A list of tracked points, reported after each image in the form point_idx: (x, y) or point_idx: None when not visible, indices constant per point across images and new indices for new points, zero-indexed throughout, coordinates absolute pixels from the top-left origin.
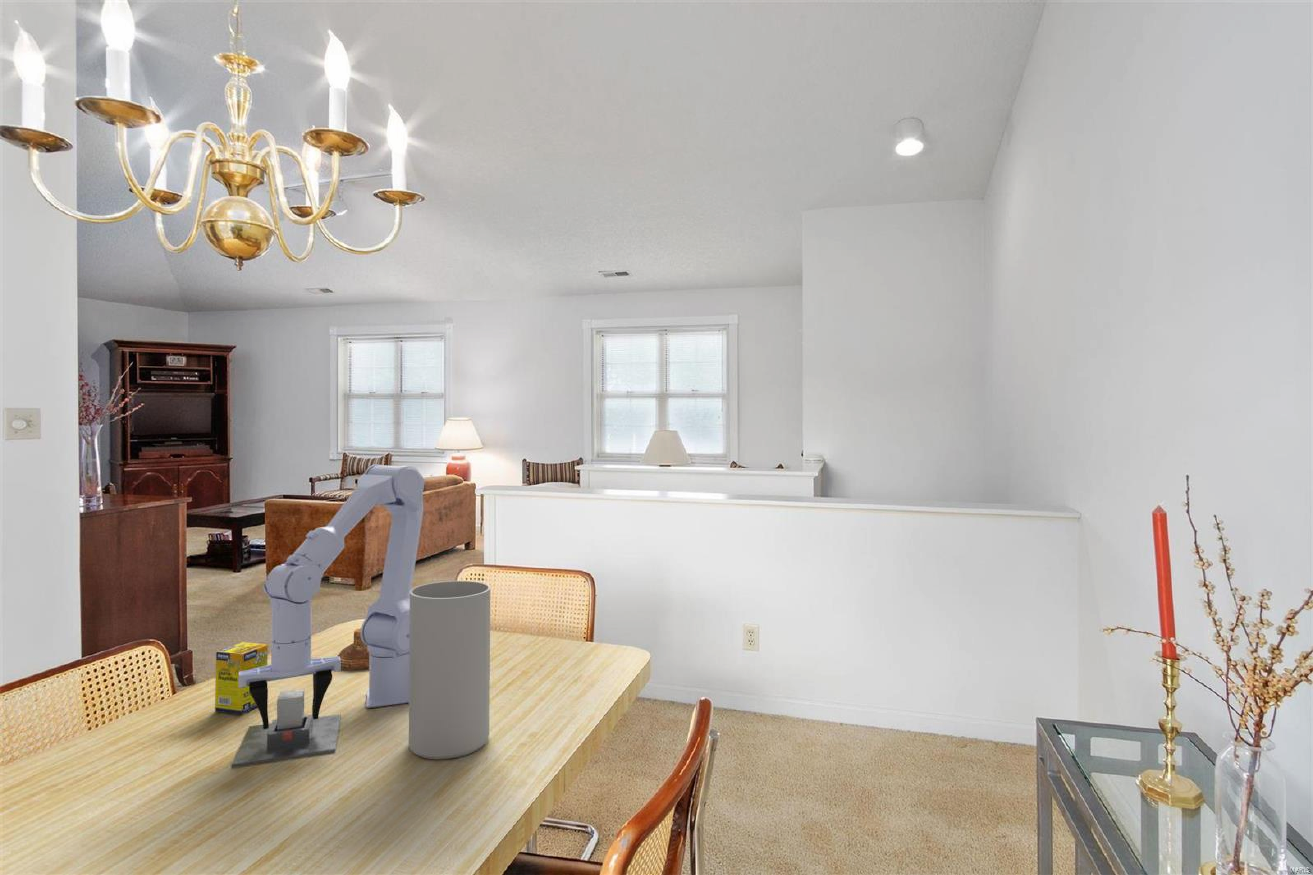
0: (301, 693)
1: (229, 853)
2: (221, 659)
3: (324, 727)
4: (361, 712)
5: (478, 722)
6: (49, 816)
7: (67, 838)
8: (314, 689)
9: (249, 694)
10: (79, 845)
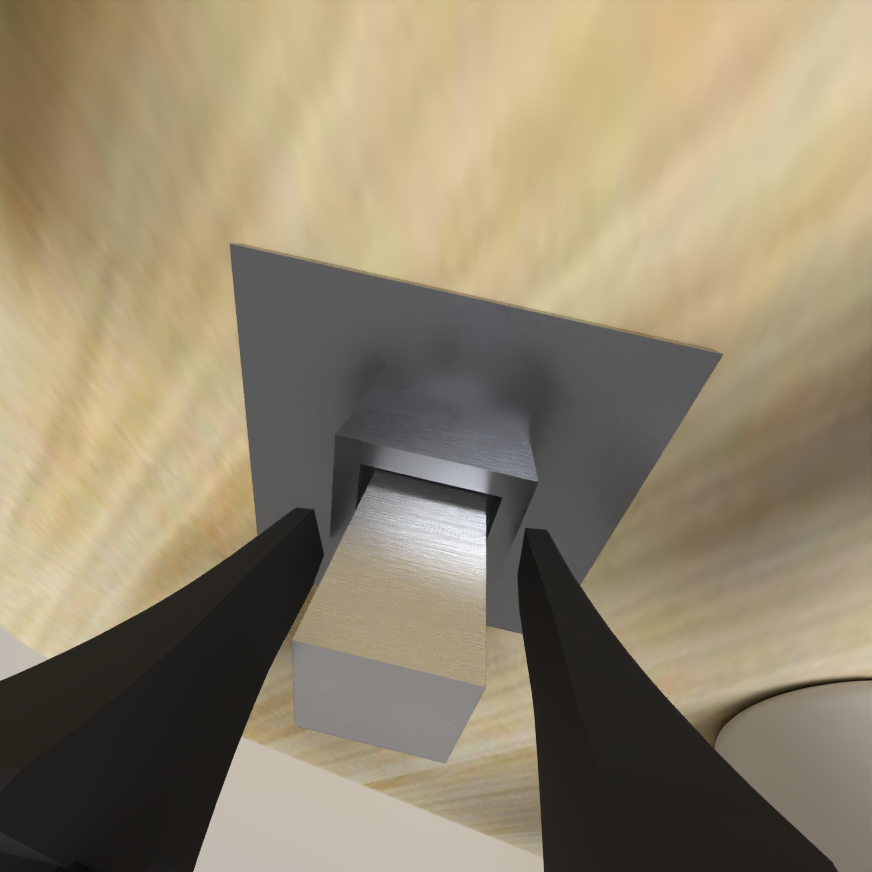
0: (450, 732)
1: (331, 762)
2: None
3: (573, 479)
4: (850, 342)
5: None
6: None
7: (68, 637)
8: (553, 746)
9: None
10: None
